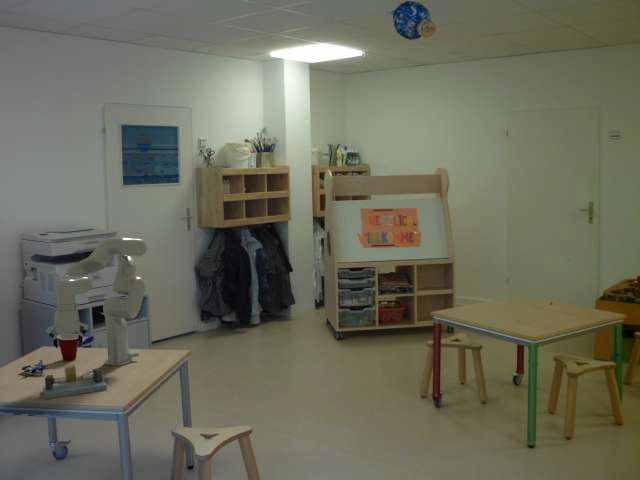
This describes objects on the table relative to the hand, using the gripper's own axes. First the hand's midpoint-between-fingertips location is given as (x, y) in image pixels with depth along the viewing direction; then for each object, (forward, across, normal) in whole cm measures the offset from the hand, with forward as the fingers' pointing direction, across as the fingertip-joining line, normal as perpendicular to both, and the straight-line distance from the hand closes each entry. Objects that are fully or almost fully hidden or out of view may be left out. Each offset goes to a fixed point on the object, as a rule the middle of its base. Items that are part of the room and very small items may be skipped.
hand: (68, 346), depth 298 cm
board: (+16, 0, +14) cm, 21 cm away
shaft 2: (+14, -7, +13) cm, 20 cm away
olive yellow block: (+16, 0, 0) cm, 16 cm away
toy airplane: (+16, +14, -20) cm, 29 cm away
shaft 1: (+14, +7, +13) cm, 20 cm away
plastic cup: (+16, -4, -37) cm, 41 cm away
